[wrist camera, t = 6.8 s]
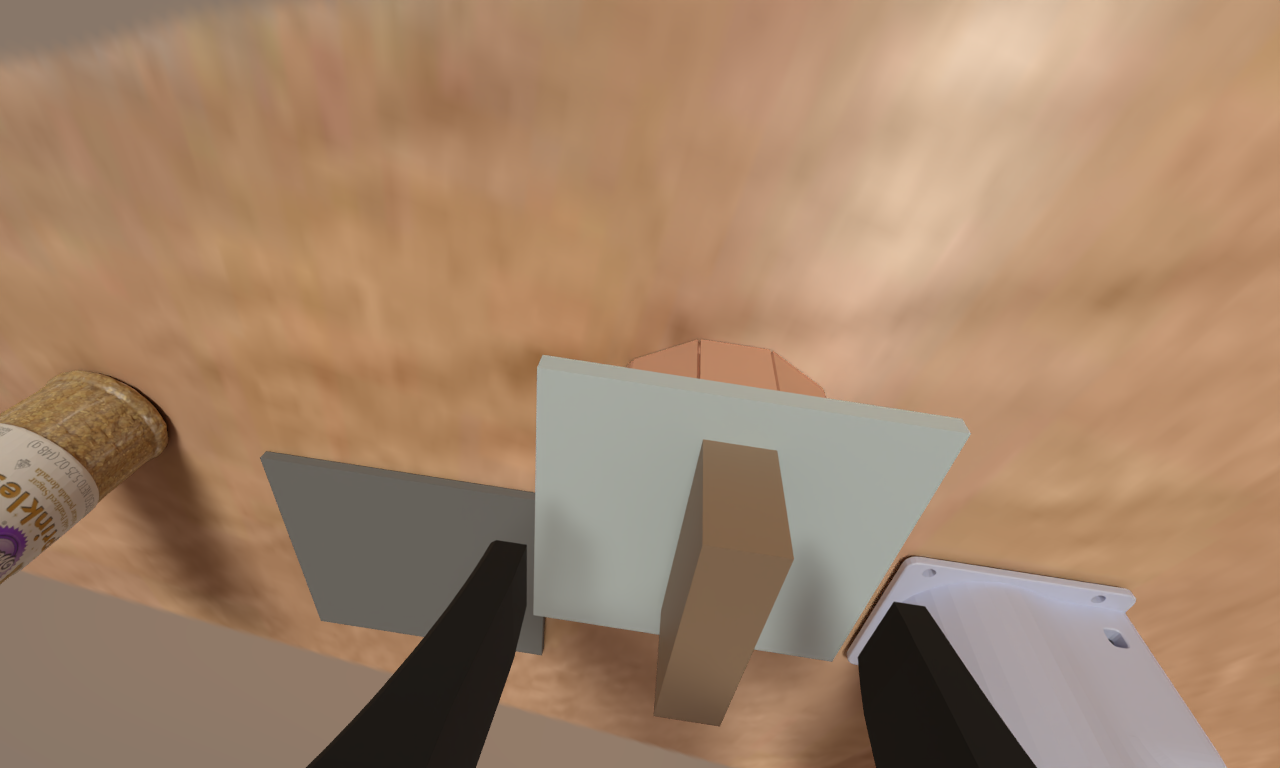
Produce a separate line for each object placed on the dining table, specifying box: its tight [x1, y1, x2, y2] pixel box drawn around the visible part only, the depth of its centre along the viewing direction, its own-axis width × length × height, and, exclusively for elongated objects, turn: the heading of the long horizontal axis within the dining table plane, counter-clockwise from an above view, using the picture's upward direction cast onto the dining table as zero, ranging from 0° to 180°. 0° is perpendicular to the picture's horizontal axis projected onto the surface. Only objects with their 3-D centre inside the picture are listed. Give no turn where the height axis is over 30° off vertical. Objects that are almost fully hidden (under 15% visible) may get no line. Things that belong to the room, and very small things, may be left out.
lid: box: [533, 355, 971, 726], centre depth 16 cm, size 11×11×4 cm
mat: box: [260, 451, 545, 655], centre depth 27 cm, size 12×12×1 cm
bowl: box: [625, 339, 826, 398], centre depth 20 cm, size 9×9×4 cm
